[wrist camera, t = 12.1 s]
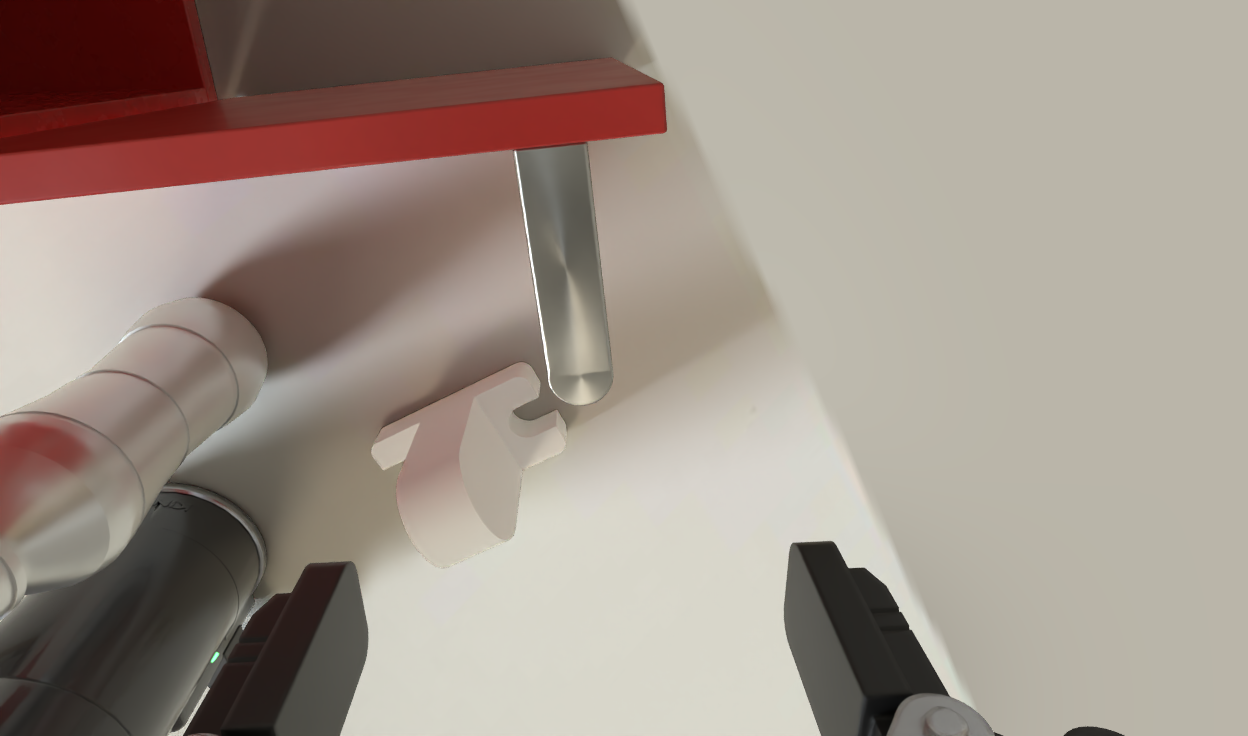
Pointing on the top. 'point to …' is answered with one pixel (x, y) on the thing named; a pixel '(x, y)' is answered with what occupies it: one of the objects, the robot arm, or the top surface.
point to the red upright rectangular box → (98, 61)
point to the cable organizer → (468, 464)
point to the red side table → (385, 133)
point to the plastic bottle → (117, 441)
